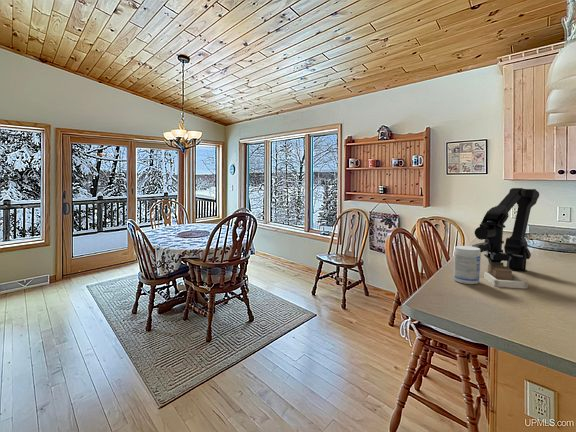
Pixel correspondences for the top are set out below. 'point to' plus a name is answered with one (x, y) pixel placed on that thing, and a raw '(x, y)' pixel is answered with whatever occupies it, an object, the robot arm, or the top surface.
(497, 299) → the top surface
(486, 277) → the bay
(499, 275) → the block
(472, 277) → the supplement tub
